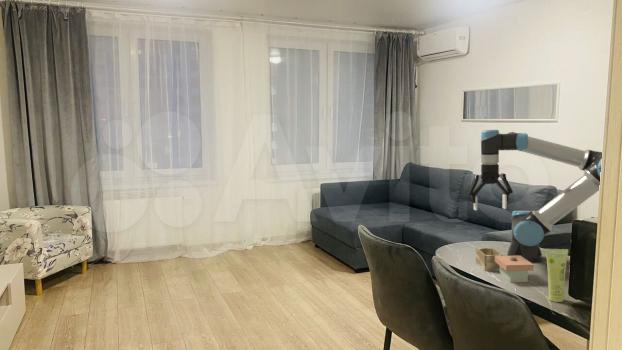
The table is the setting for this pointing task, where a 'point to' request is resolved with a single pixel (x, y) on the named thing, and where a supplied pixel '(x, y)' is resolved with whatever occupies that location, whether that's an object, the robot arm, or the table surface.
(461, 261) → the table surface
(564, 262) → the tube
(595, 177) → the robot arm
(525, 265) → the lid
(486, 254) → the box
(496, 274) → the table surface
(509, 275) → the pale green rectangular block
